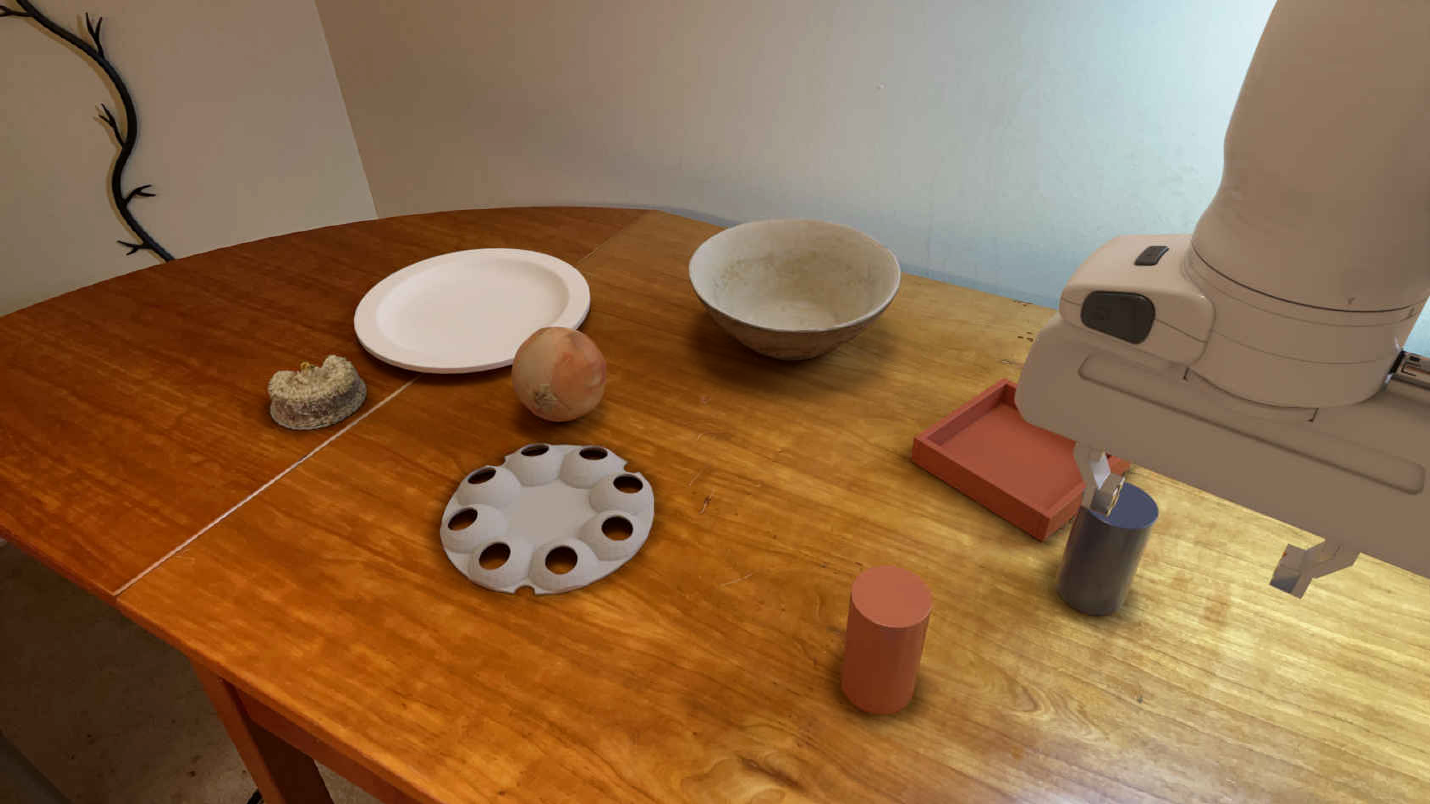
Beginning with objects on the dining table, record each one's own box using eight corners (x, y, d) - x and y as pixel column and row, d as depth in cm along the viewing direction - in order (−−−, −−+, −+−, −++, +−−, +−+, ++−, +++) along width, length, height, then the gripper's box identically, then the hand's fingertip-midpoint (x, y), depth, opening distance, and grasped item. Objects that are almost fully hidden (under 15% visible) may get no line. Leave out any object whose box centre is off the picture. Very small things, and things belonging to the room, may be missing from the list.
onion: (510, 441, 93) (494, 361, 87) (527, 384, 101) (514, 306, 95) (604, 441, 93) (596, 360, 87) (614, 384, 100) (607, 306, 94)
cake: (383, 408, 98) (373, 369, 95) (291, 447, 93) (276, 408, 90) (346, 362, 104) (334, 324, 100) (257, 397, 99) (241, 358, 95)
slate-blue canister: (1139, 606, 75) (1175, 519, 69) (1080, 622, 74) (1112, 535, 68) (1097, 558, 79) (1127, 472, 73) (1041, 573, 78) (1067, 487, 72)
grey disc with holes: (692, 483, 87) (692, 468, 86) (574, 628, 74) (572, 612, 72) (529, 425, 95) (526, 410, 94) (394, 546, 81) (389, 530, 80)
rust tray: (1129, 468, 89) (1137, 444, 87) (1042, 542, 81) (1050, 518, 79) (999, 399, 98) (1004, 376, 96) (910, 460, 90) (913, 437, 88)
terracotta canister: (927, 703, 68) (947, 616, 62) (858, 723, 67) (872, 636, 60) (894, 645, 72) (909, 558, 66) (828, 663, 71) (838, 575, 65)
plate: (319, 315, 113) (314, 298, 111) (513, 243, 127) (511, 228, 126) (429, 417, 96) (424, 399, 95) (637, 321, 111) (636, 304, 109)
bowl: (838, 422, 95) (845, 342, 89) (651, 356, 105) (646, 280, 99) (921, 319, 111) (932, 246, 105) (752, 271, 121) (753, 201, 115)
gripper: (1589, 366, 36) (1430, 600, 44) (1080, 229, 46) (1028, 439, 55) (1584, 447, 32) (1411, 687, 40) (1029, 277, 42) (982, 496, 51)
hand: (1187, 543), depth 48 cm, fingers open, 8 cm apart
